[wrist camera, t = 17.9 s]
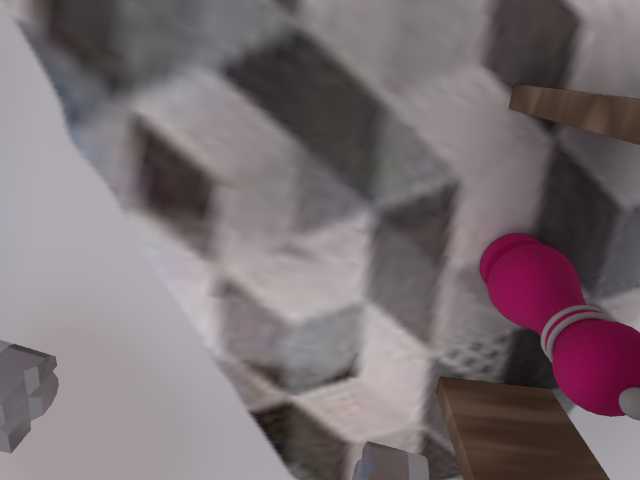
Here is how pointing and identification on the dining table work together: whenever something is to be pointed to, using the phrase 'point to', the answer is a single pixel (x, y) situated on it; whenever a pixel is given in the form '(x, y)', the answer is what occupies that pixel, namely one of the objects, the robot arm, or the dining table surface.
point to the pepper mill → (565, 325)
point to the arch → (521, 401)
